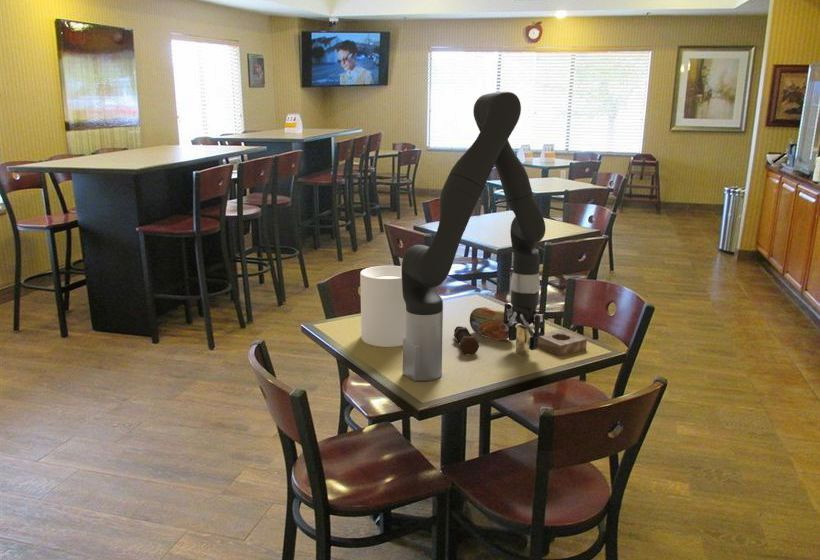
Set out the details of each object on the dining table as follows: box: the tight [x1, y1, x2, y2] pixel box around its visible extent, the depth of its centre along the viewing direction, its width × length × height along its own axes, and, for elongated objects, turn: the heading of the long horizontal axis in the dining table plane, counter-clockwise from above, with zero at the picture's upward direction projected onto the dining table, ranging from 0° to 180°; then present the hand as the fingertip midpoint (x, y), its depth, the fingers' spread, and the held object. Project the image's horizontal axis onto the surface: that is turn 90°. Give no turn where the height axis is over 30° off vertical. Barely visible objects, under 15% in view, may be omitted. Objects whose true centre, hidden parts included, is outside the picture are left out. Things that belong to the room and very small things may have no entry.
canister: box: [359, 265, 406, 348], centre depth 193 cm, size 16×16×20 cm
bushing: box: [515, 324, 531, 357], centre depth 181 cm, size 4×4×8 cm
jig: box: [538, 328, 588, 357], centre depth 187 cm, size 10×10×3 cm
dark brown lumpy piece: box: [453, 326, 480, 356], centre depth 188 cm, size 6×5×15 cm
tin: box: [469, 306, 509, 341], centre depth 195 cm, size 15×3×8 cm, turn 47°
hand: (522, 344), depth 182 cm, fingers open, 8 cm apart
